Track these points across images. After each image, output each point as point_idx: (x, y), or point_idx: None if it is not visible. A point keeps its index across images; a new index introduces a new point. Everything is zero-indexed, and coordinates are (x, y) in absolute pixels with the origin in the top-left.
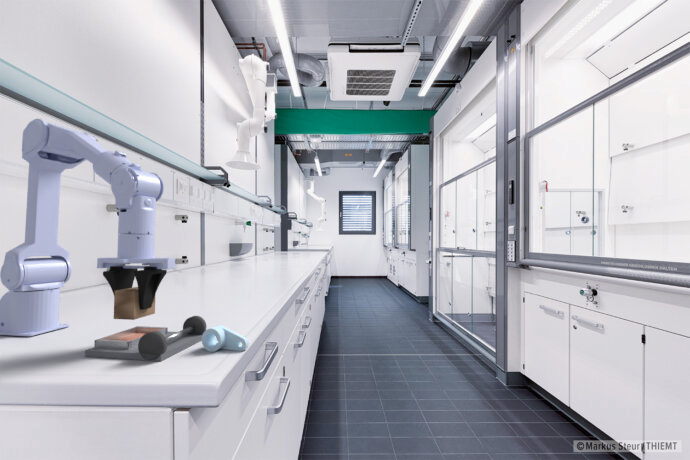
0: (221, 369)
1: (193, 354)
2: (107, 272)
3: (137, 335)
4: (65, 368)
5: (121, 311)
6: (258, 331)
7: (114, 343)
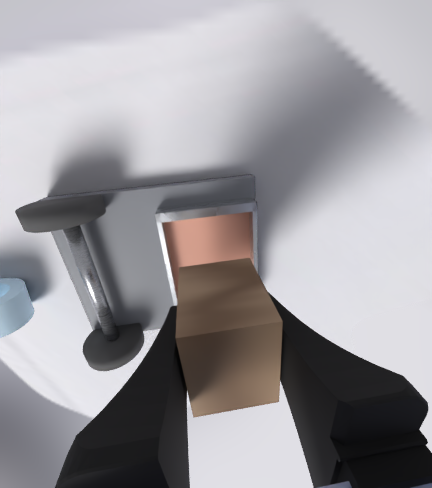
0: None
1: (23, 251)
2: (378, 397)
3: None
4: (220, 100)
5: (227, 274)
6: (35, 389)
7: (197, 207)
